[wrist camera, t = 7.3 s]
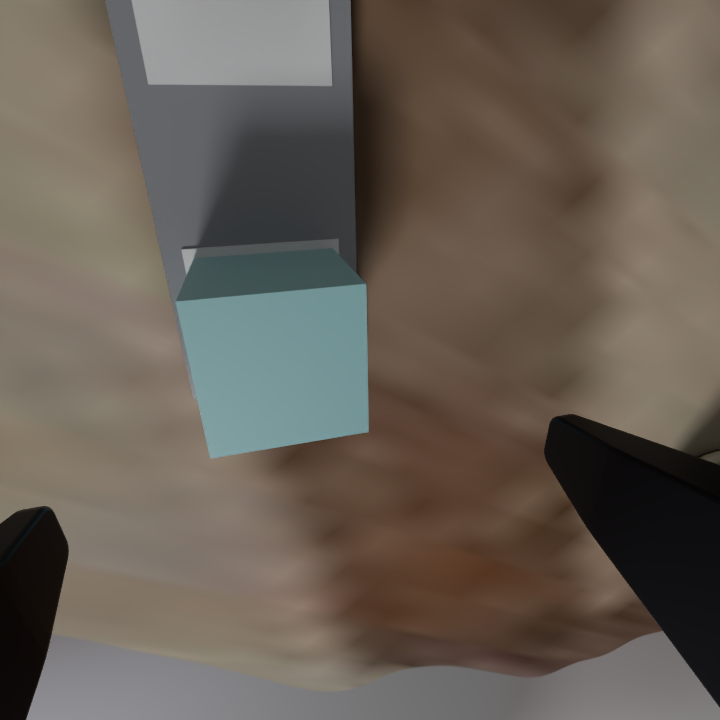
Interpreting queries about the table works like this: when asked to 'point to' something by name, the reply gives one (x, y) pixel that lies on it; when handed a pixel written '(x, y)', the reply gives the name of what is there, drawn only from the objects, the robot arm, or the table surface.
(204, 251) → the baseplate
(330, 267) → the teal block
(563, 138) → the table surface
